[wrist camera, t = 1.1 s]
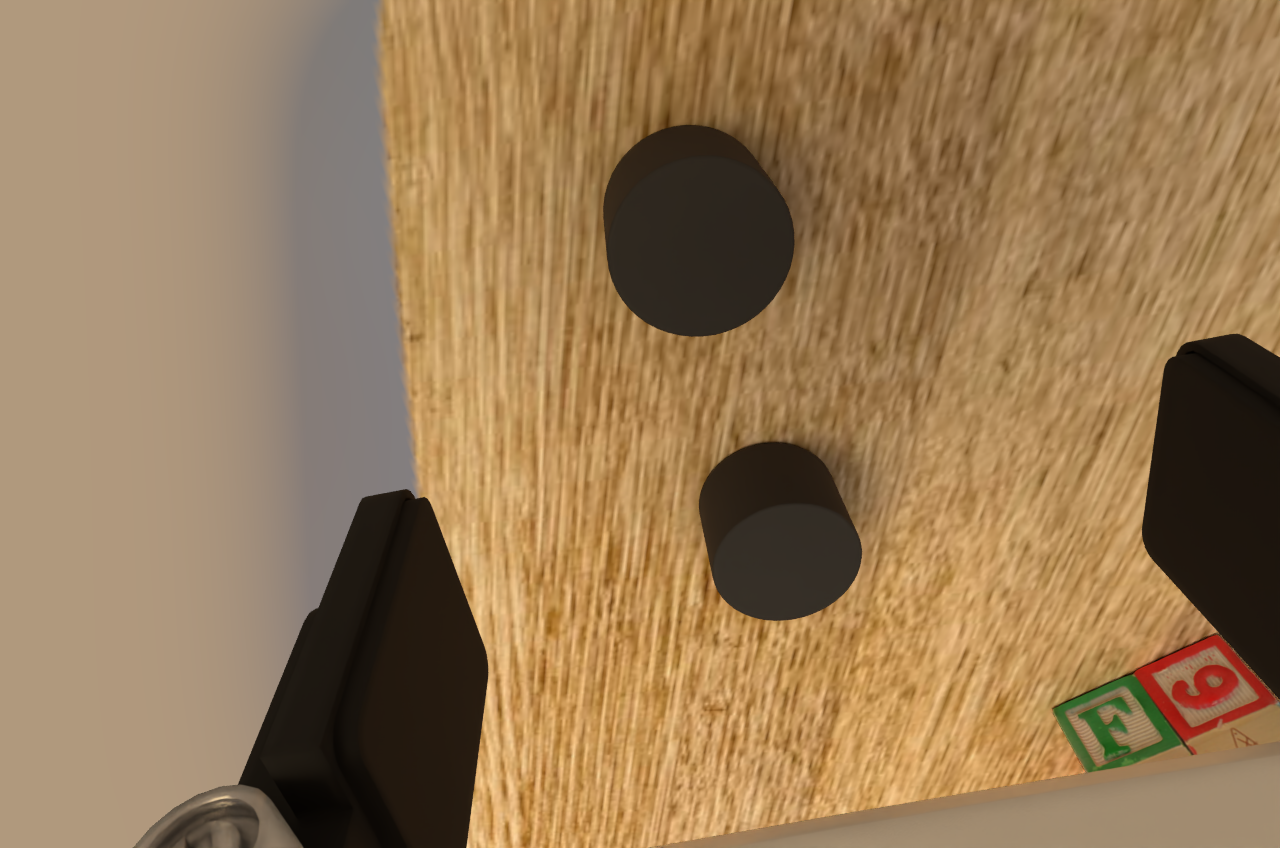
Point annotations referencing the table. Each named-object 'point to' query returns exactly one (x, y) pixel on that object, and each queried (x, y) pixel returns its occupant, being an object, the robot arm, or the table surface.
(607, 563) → the table surface
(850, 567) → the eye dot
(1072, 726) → the stack of blocks
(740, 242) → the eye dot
